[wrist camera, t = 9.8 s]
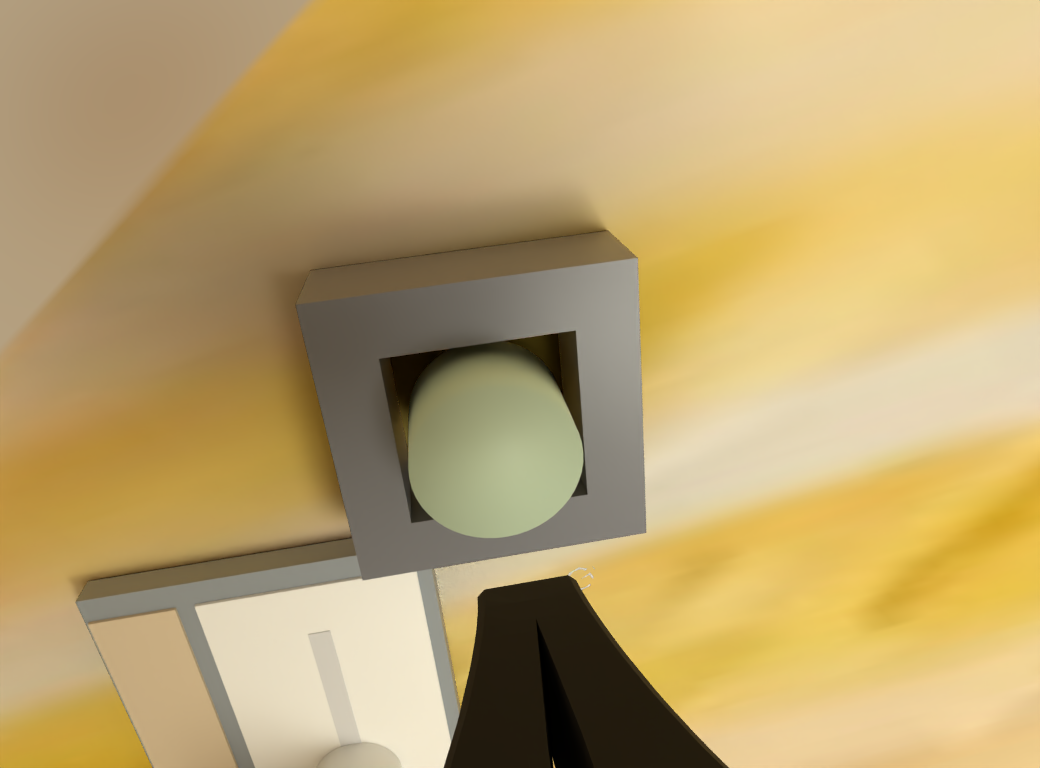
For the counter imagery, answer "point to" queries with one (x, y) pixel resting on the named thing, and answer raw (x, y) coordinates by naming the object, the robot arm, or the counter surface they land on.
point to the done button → (491, 441)
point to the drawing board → (277, 659)
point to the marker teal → (360, 757)
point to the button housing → (464, 322)
